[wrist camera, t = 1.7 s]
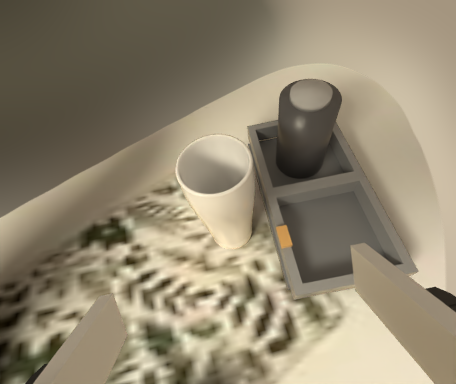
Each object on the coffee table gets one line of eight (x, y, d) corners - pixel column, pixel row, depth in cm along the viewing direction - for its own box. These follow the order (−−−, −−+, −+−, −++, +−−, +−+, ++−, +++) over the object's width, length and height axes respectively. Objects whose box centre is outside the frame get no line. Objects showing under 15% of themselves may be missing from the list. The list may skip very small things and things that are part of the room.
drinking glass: (259, 210, 35) (256, 132, 23) (256, 258, 32) (250, 199, 19) (211, 207, 37) (183, 132, 24) (203, 253, 33) (165, 195, 20)
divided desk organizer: (290, 301, 29) (305, 273, 18) (247, 142, 42) (240, 70, 31) (404, 279, 29) (489, 237, 18) (325, 126, 42) (347, 47, 31)
